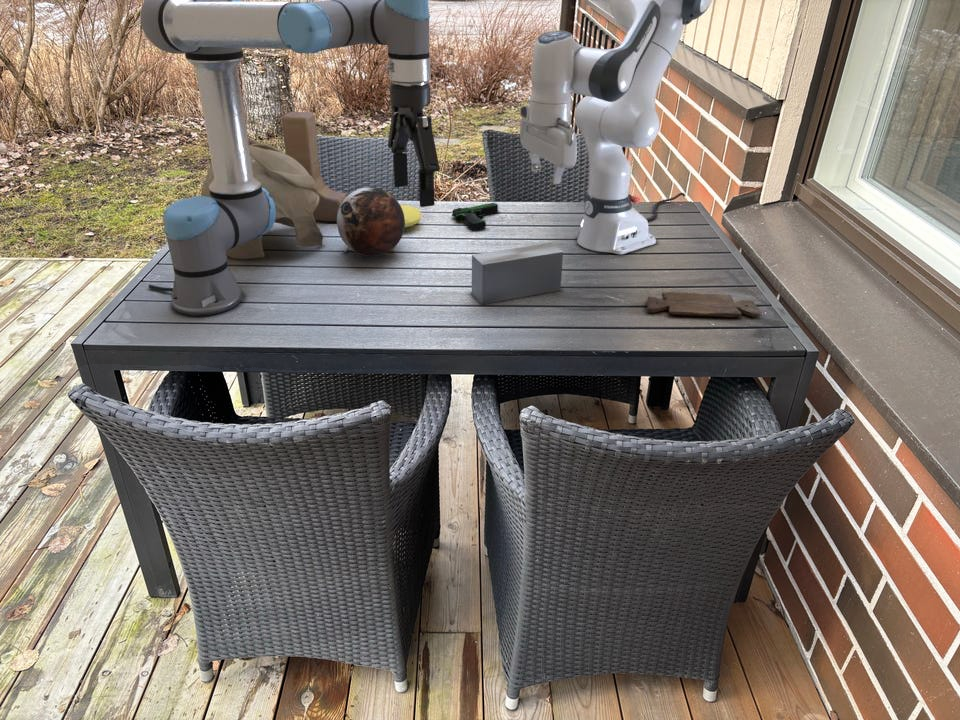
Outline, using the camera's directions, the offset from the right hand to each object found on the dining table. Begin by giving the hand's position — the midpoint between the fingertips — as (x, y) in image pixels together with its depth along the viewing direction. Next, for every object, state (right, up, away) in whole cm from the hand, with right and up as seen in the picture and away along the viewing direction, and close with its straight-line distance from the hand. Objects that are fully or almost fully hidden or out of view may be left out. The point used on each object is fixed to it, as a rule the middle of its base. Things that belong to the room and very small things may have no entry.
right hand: (545, 177), depth 161 cm
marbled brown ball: (-44, -12, +32) cm, 56 cm away
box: (-6, -25, +12) cm, 28 cm away
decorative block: (-63, +2, +55) cm, 84 cm away
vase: (-40, -1, +51) cm, 64 cm away
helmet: (-73, -10, +35) cm, 82 cm away
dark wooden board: (+37, -29, +6) cm, 47 cm away
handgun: (-15, +1, +55) cm, 57 cm away
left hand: (-28, -9, -20) cm, 35 cm away
